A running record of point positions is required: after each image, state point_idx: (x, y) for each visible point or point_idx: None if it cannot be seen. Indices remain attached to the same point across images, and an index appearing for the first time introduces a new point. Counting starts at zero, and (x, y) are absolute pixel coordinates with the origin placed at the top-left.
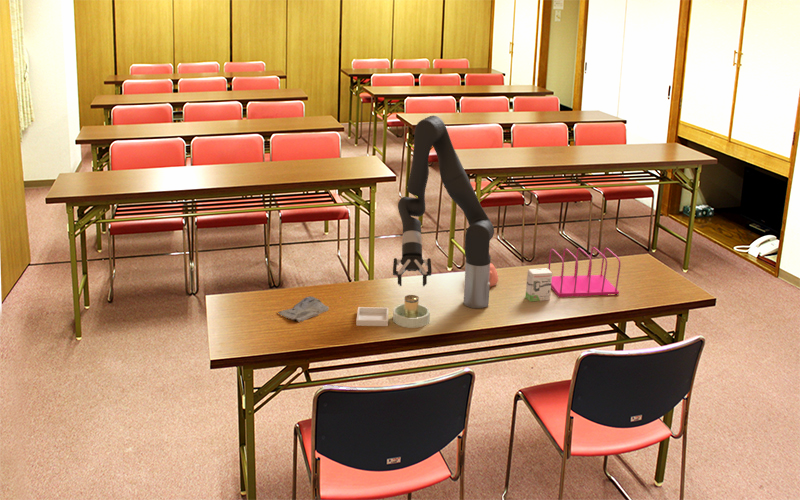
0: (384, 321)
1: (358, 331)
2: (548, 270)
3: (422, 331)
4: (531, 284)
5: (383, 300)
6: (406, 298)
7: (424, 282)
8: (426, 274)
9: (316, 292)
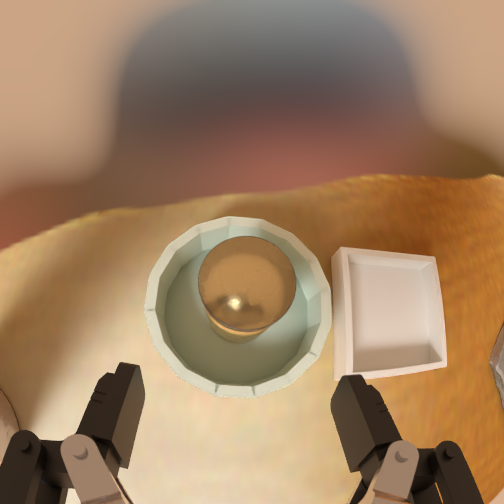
0: (352, 248)
1: (409, 235)
2: None
3: (201, 220)
4: None
5: (345, 496)
6: (283, 269)
7: (119, 371)
8: (72, 443)
9: (499, 467)
